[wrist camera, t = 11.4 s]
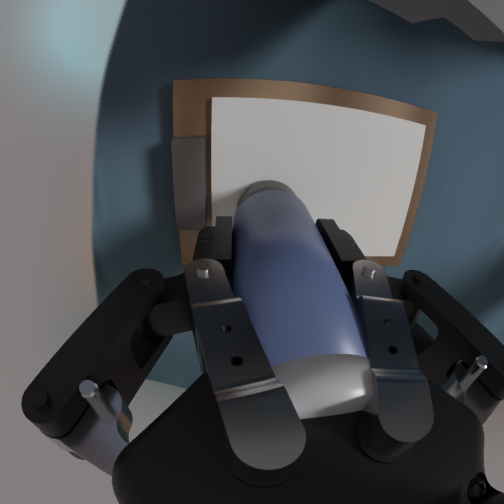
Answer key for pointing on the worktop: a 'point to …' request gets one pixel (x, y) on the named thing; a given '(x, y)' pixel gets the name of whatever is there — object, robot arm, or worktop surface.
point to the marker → (298, 303)
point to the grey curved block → (454, 15)
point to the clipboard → (202, 90)
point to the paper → (319, 163)
